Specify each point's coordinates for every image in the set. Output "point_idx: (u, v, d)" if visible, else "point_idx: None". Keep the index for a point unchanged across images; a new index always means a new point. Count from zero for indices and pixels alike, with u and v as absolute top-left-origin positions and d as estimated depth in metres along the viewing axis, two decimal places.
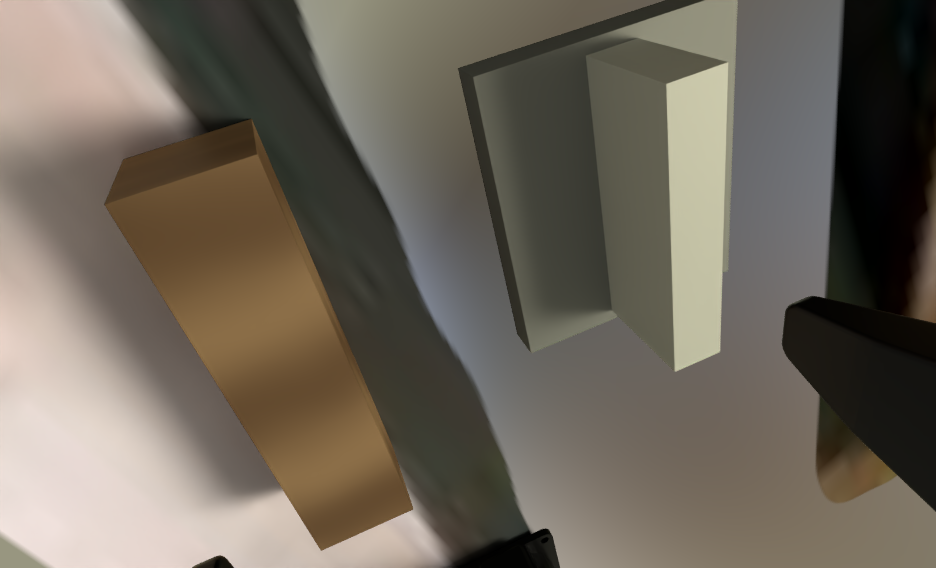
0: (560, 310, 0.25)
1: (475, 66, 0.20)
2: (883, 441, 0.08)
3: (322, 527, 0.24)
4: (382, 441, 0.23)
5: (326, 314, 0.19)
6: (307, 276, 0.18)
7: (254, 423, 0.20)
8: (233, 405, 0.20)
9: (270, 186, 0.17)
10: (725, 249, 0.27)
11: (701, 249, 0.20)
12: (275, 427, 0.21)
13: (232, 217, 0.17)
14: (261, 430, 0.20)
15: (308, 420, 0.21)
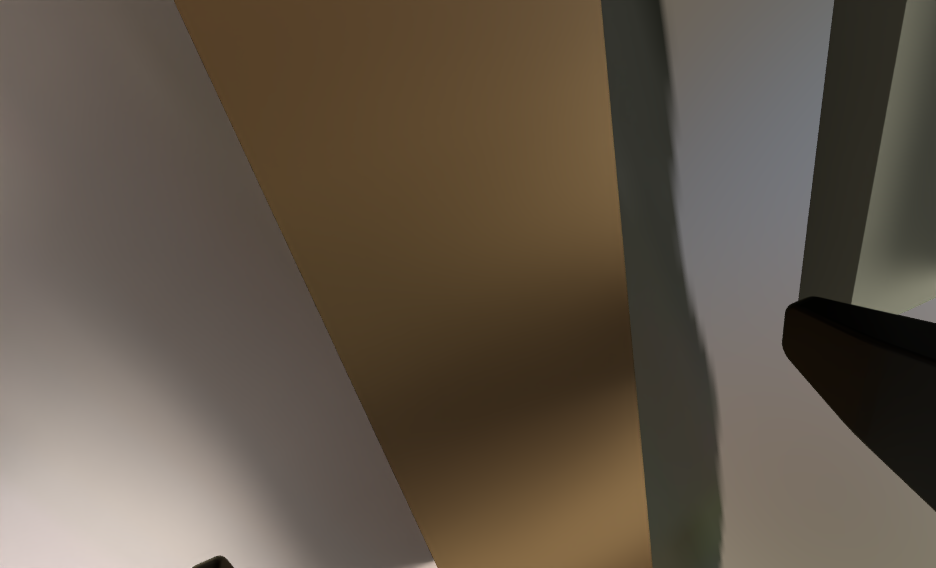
0: (910, 262, 0.14)
1: None
2: (883, 441, 0.08)
3: None
4: (644, 507, 0.11)
5: (619, 232, 0.08)
6: (604, 125, 0.07)
7: (426, 485, 0.09)
8: (389, 449, 0.08)
9: None
10: None
11: None
12: (465, 493, 0.10)
13: None
14: (437, 498, 0.09)
15: (529, 474, 0.10)
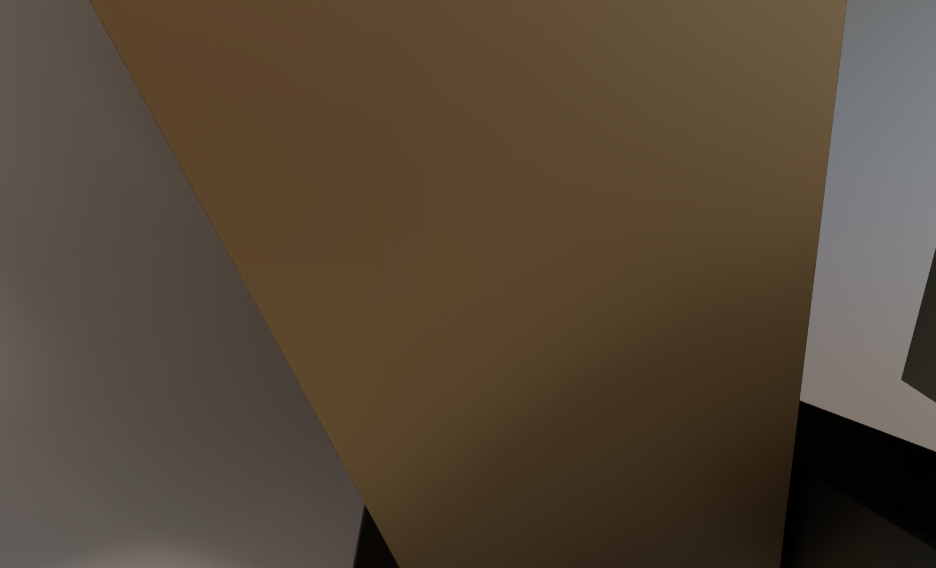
0: None
1: None
2: None
3: None
4: None
5: (799, 373, 0.06)
6: (808, 237, 0.05)
7: None
8: None
9: None
10: None
11: None
12: None
13: None
14: None
15: None
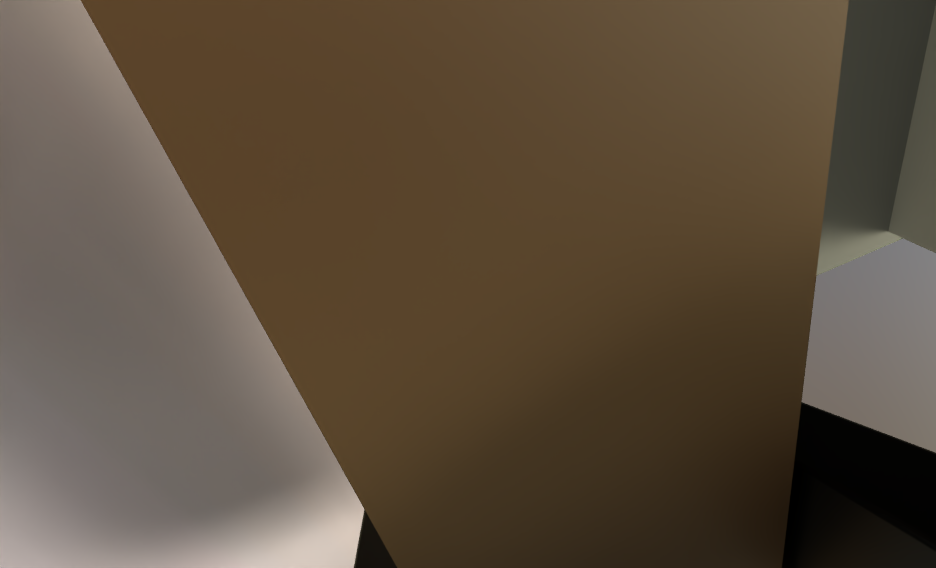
0: (825, 226, 0.16)
1: None
2: None
3: None
4: None
5: (801, 374, 0.06)
6: (809, 237, 0.05)
7: None
8: None
9: None
10: None
11: None
12: None
13: None
14: None
15: None
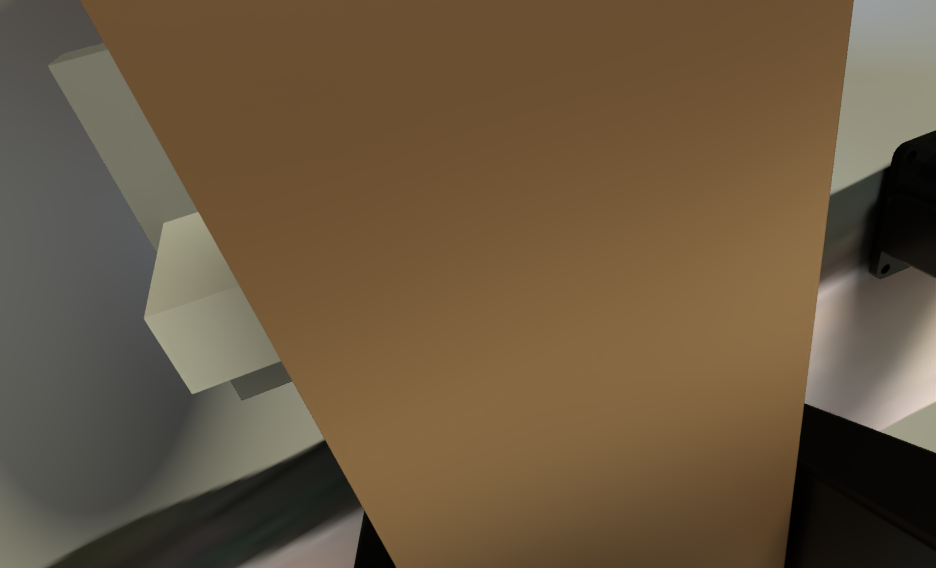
0: None
1: None
2: None
3: None
4: None
5: (804, 374, 0.05)
6: (814, 236, 0.05)
7: None
8: None
9: None
10: None
11: None
12: None
13: None
14: None
15: None
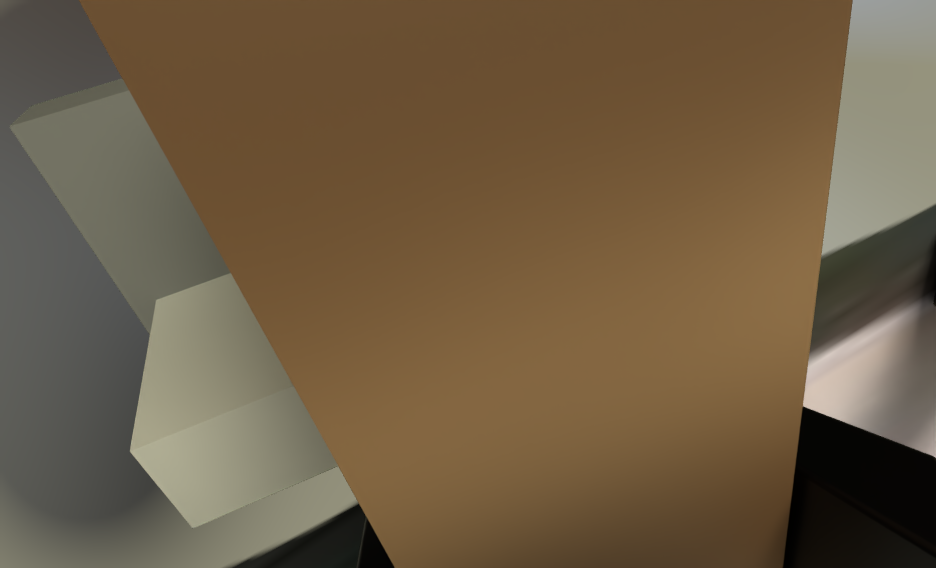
0: None
1: None
2: None
3: None
4: None
5: (803, 375, 0.05)
6: (812, 236, 0.05)
7: None
8: None
9: None
10: None
11: None
12: None
13: None
14: None
15: None
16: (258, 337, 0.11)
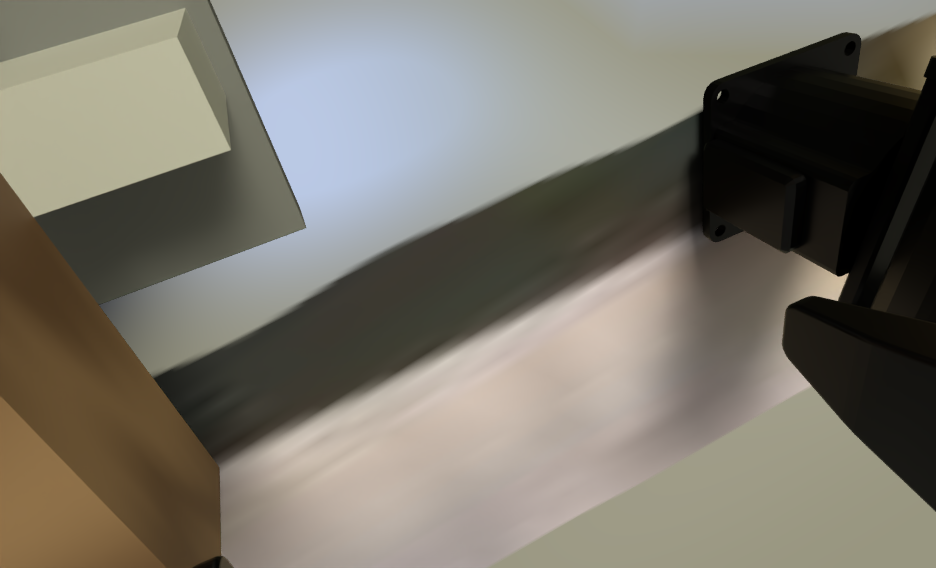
0: (224, 196, 0.16)
1: None
2: (883, 441, 0.08)
3: None
4: (82, 483, 0.09)
5: None
6: None
7: None
8: None
9: None
10: None
11: None
12: None
13: None
14: None
15: None
16: None
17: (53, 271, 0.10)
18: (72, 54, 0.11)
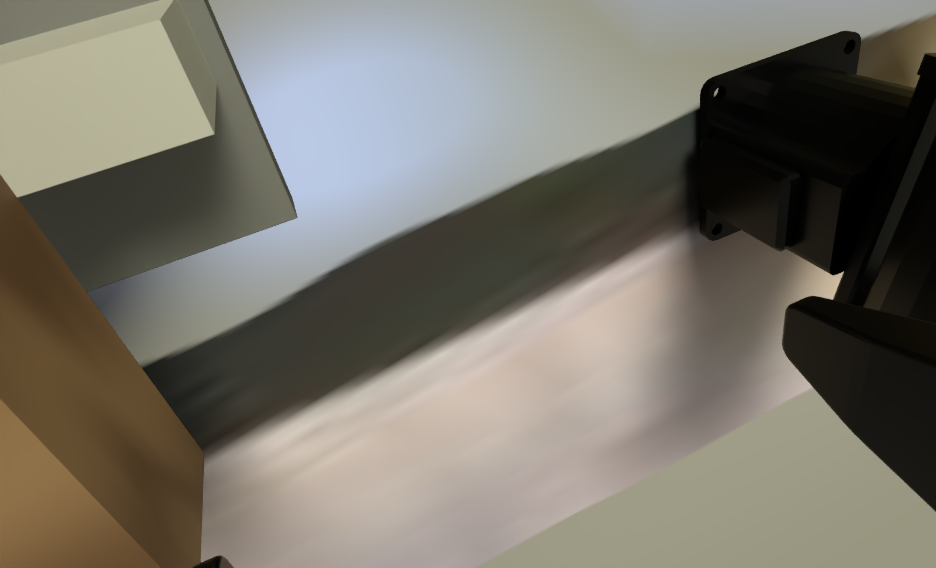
0: (215, 184, 0.16)
1: None
2: (883, 441, 0.08)
3: None
4: (54, 459, 0.09)
5: None
6: None
7: None
8: None
9: None
10: None
11: None
12: None
13: None
14: None
15: None
16: None
17: (35, 251, 0.10)
18: (59, 37, 0.11)
